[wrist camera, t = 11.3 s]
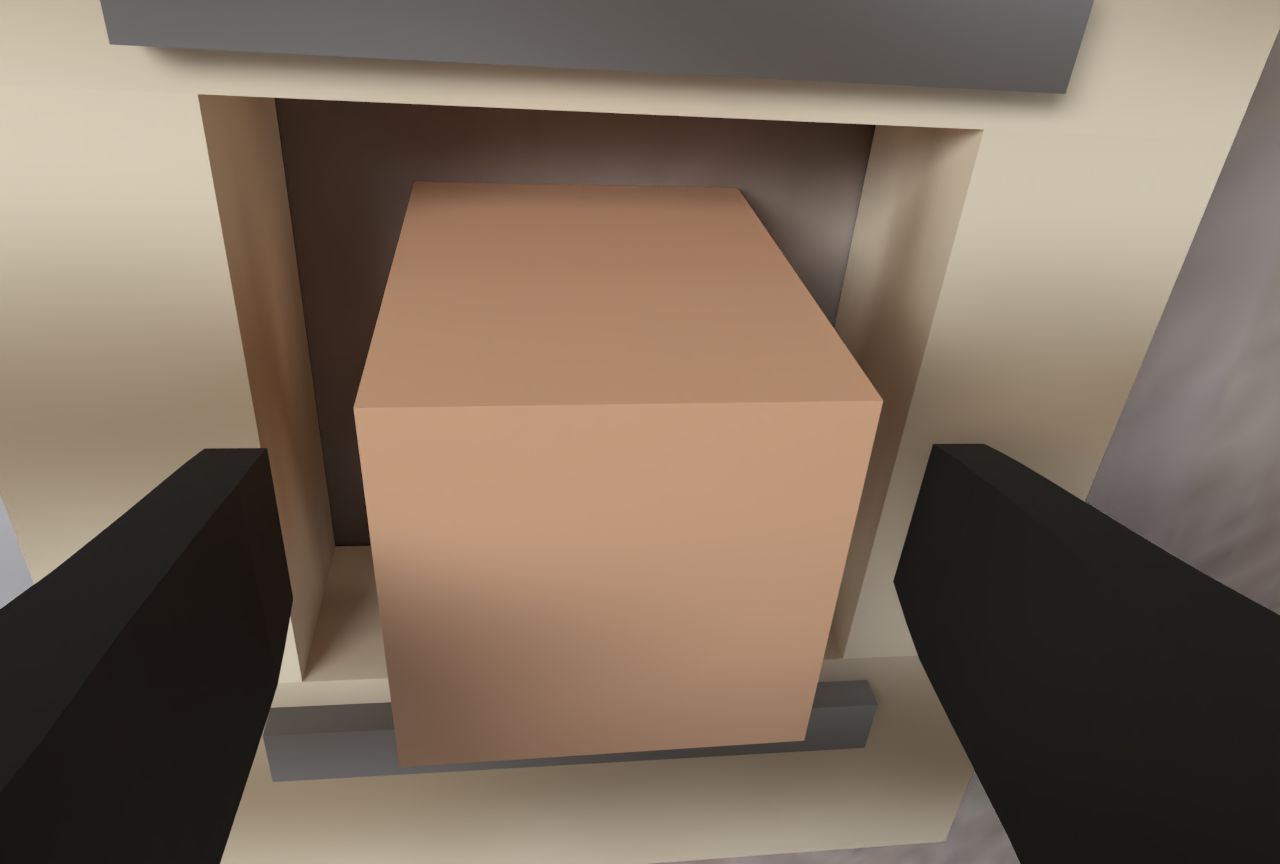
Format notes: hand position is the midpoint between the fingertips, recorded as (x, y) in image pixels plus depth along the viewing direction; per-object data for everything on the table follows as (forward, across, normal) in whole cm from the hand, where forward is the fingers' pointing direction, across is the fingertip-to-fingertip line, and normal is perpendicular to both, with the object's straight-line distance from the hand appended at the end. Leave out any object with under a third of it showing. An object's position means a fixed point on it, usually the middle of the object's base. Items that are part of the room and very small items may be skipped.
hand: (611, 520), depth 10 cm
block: (+5, 0, 0) cm, 5 cm away
